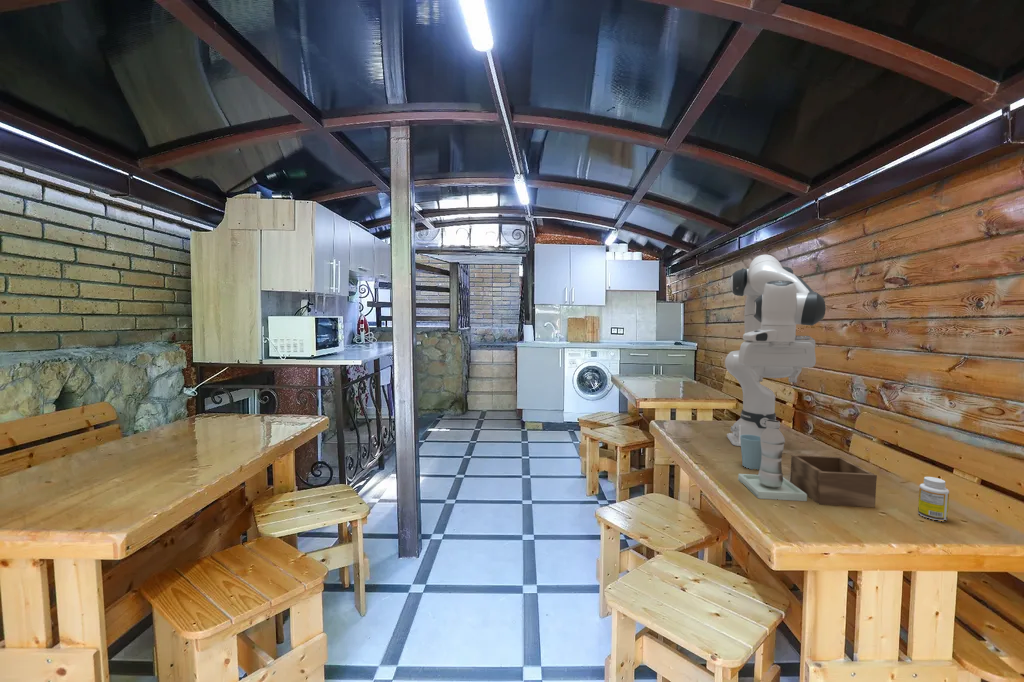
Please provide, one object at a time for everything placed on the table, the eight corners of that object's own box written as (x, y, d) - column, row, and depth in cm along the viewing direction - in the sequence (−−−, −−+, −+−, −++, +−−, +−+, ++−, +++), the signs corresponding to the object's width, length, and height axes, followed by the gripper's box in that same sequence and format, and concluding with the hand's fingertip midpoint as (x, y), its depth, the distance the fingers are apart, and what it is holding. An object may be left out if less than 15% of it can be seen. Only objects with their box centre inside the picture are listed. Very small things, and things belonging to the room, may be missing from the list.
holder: (789, 482, 134) (791, 454, 133) (838, 485, 132) (840, 456, 131) (819, 504, 118) (820, 472, 118) (875, 507, 117) (877, 475, 116)
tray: (738, 479, 136) (738, 473, 136) (781, 481, 134) (781, 475, 134) (758, 498, 122) (758, 491, 122) (806, 501, 120) (807, 494, 120)
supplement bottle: (930, 512, 114) (932, 475, 114) (953, 522, 109) (956, 483, 108) (911, 512, 114) (914, 475, 113) (934, 522, 108) (936, 483, 108)
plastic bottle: (778, 483, 130) (781, 419, 129) (786, 491, 124) (789, 424, 123) (755, 480, 132) (757, 417, 131) (761, 489, 126) (763, 422, 125)
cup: (768, 468, 147) (769, 438, 146) (757, 472, 142) (759, 442, 142) (746, 461, 153) (747, 433, 152) (735, 466, 148) (736, 436, 148)
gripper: (809, 335, 127) (806, 381, 128) (737, 334, 129) (735, 379, 130) (822, 336, 121) (819, 384, 122) (746, 335, 123) (744, 382, 124)
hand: (775, 381), depth 126 cm, fingers open, 8 cm apart
